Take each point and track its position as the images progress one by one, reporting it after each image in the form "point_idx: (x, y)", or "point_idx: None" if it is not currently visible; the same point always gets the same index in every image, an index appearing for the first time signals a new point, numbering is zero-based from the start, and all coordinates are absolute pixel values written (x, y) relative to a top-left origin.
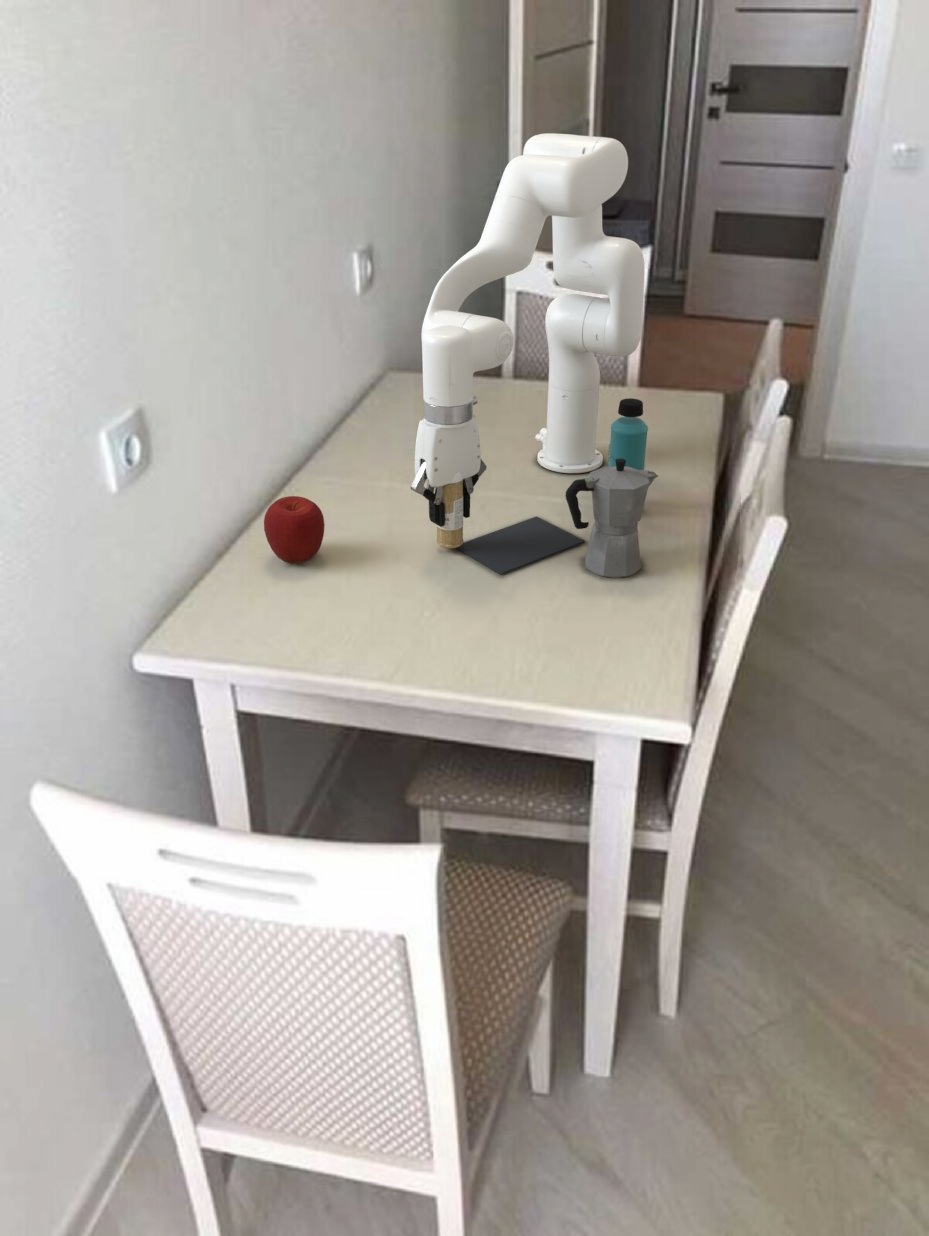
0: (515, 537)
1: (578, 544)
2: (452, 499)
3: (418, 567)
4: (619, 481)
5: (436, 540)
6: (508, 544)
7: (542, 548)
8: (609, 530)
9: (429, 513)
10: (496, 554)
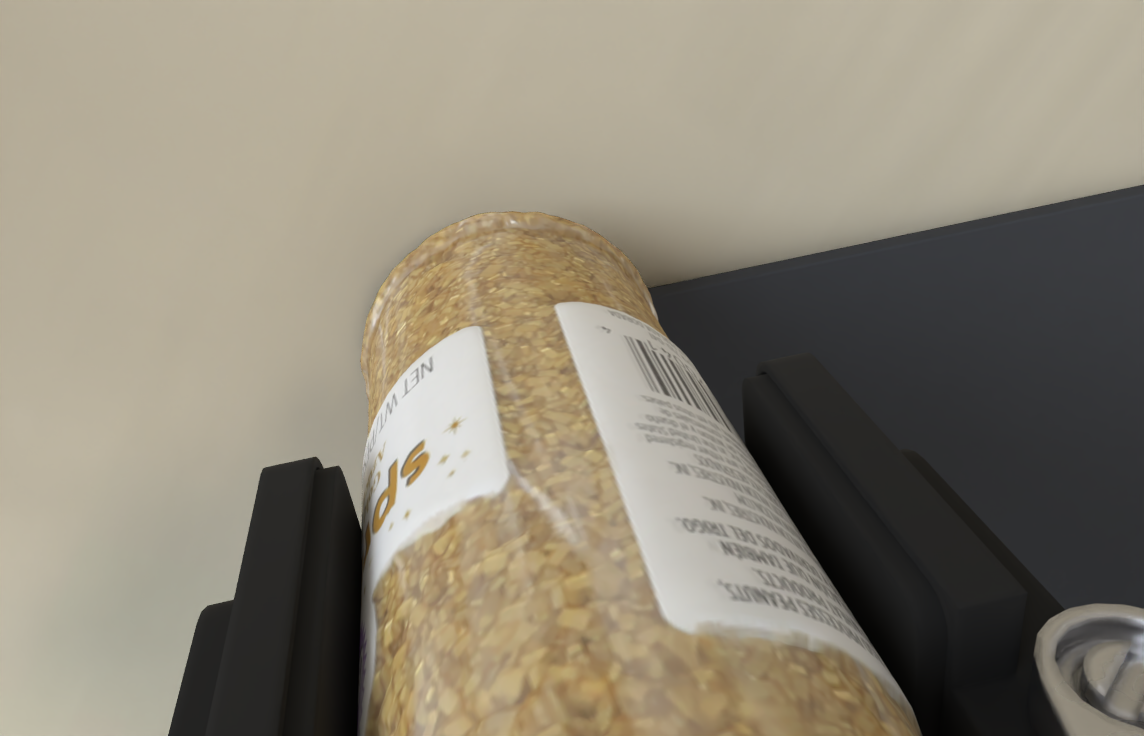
0: (1085, 395)
1: None
2: None
3: (68, 504)
4: None
5: (368, 327)
6: (956, 476)
7: (1085, 604)
8: None
9: (193, 663)
10: None
